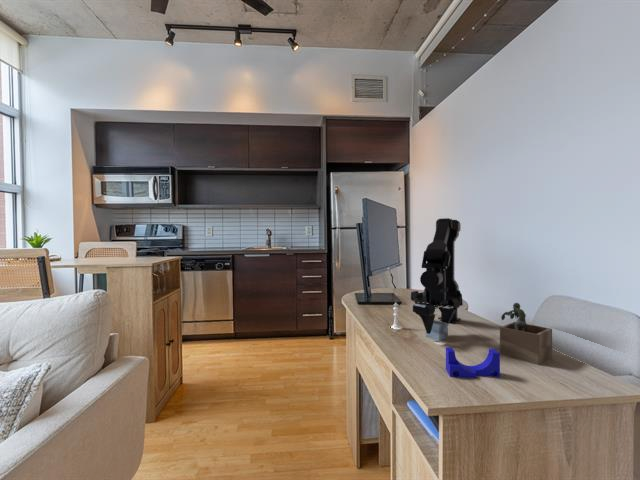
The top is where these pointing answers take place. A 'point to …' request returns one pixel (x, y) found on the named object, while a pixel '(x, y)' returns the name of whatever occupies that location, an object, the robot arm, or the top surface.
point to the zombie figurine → (517, 313)
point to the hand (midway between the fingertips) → (436, 331)
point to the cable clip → (472, 371)
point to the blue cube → (438, 331)
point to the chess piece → (396, 318)
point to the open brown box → (526, 343)
